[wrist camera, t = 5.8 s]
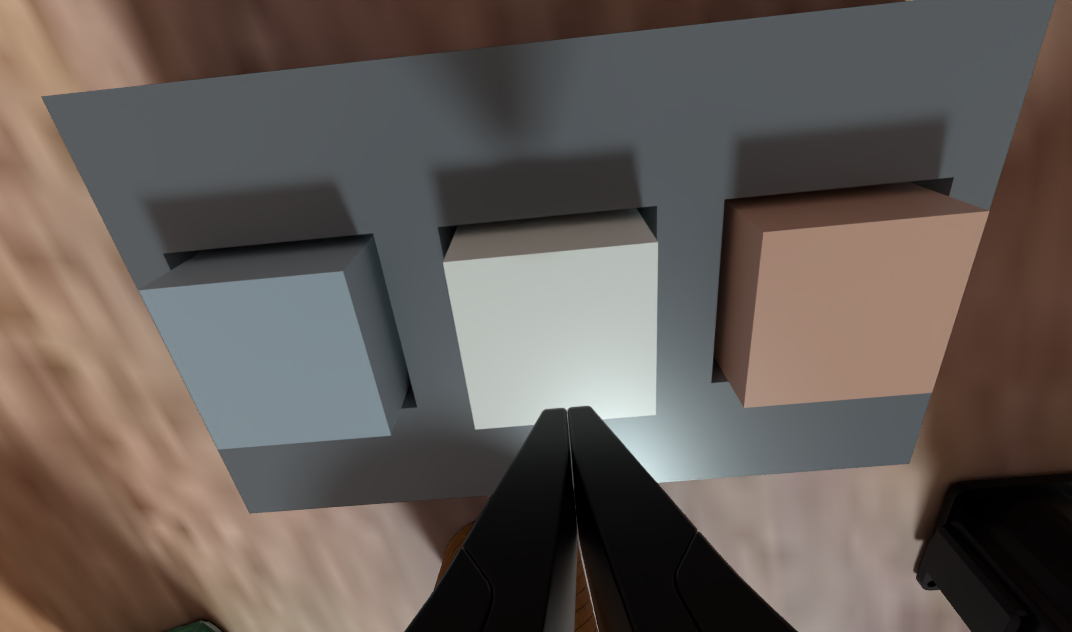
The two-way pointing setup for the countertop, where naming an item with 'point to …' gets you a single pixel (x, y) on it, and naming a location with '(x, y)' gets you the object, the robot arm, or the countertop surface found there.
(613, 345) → the pale key
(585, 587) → the disposable coffee cup
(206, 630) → the coffee box
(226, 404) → the slate key
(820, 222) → the rust key
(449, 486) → the key panel
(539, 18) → the countertop surface
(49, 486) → the countertop surface
